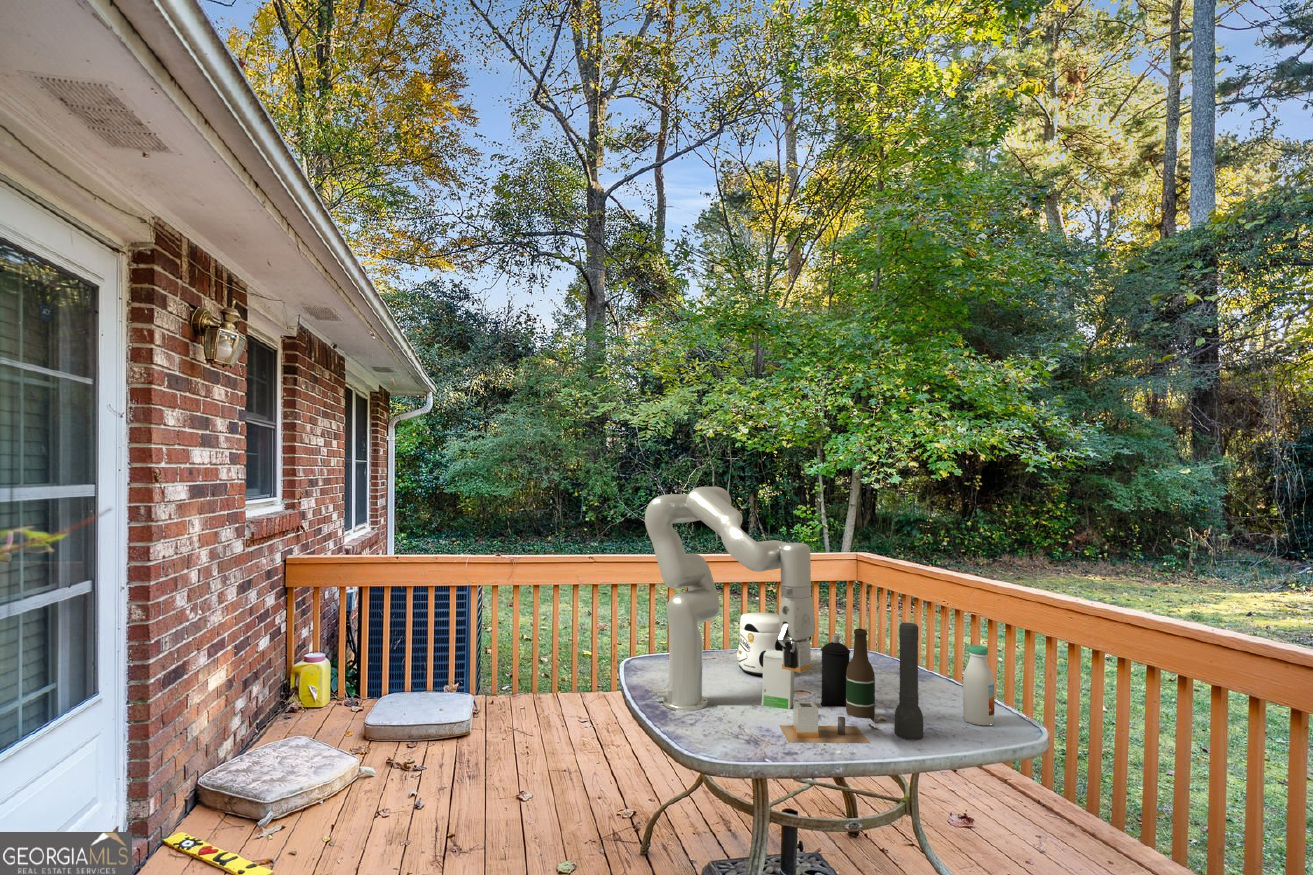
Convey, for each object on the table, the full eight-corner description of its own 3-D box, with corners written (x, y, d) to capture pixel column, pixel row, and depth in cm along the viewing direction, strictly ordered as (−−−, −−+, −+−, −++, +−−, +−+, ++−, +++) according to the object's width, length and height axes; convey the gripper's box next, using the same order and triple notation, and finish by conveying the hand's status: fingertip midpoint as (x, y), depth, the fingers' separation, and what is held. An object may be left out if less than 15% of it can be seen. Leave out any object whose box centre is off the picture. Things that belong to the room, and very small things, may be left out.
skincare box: (761, 710, 191) (761, 654, 192) (765, 703, 197) (766, 648, 198) (791, 714, 188) (791, 657, 189) (794, 707, 194) (795, 651, 195)
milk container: (726, 670, 229) (726, 616, 230) (758, 661, 241) (759, 609, 242) (767, 682, 217) (767, 625, 217) (799, 672, 228) (800, 618, 229)
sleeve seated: (797, 737, 168) (797, 708, 169) (792, 729, 173) (792, 701, 174) (818, 737, 168) (819, 708, 169) (813, 729, 174) (813, 701, 174)
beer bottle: (870, 726, 181) (871, 634, 182) (841, 720, 185) (842, 630, 186) (878, 717, 187) (878, 628, 188) (850, 711, 192) (850, 624, 193)
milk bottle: (981, 728, 181) (981, 651, 182) (956, 718, 187) (956, 644, 188) (1000, 724, 184) (1000, 648, 185) (975, 714, 191) (975, 642, 192)
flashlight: (927, 734, 176) (900, 727, 180) (927, 624, 177) (900, 619, 182) (918, 742, 170) (890, 735, 175) (918, 628, 172) (890, 624, 176)
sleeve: (800, 672, 169) (799, 643, 169) (782, 668, 173) (781, 640, 173) (811, 668, 173) (811, 640, 173) (793, 664, 177) (793, 636, 177)
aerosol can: (851, 712, 191) (851, 639, 192) (820, 709, 193) (821, 637, 194) (849, 702, 199) (849, 632, 200) (819, 700, 201) (820, 631, 202)
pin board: (788, 748, 165) (788, 725, 165) (779, 731, 176) (779, 709, 176) (870, 749, 166) (870, 726, 166) (856, 731, 177) (856, 710, 177)
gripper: (790, 598, 165) (791, 674, 164) (826, 589, 178) (827, 661, 176) (764, 594, 170) (765, 669, 169) (801, 586, 183) (802, 656, 182)
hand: (796, 664), depth 173 cm, fingers closed on sleeve, 5 cm apart
